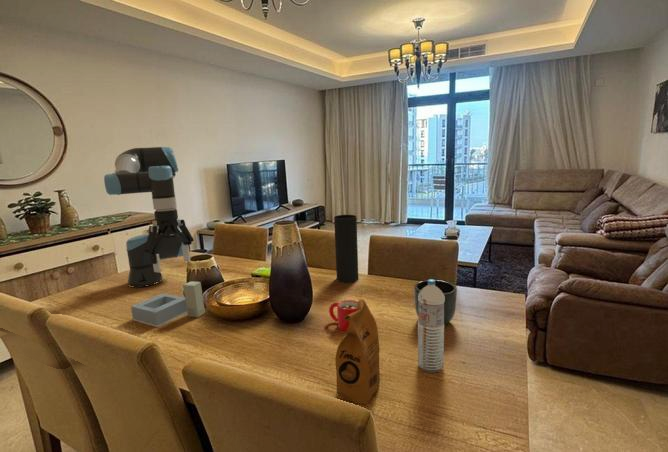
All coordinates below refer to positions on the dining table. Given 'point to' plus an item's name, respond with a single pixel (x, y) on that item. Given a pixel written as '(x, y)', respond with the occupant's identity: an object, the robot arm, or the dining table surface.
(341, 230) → the vase
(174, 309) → the socket
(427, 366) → the water bottle
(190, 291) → the box
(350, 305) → the mug
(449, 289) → the planter
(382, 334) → the dining table surface
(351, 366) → the coffee package
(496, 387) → the dining table surface
